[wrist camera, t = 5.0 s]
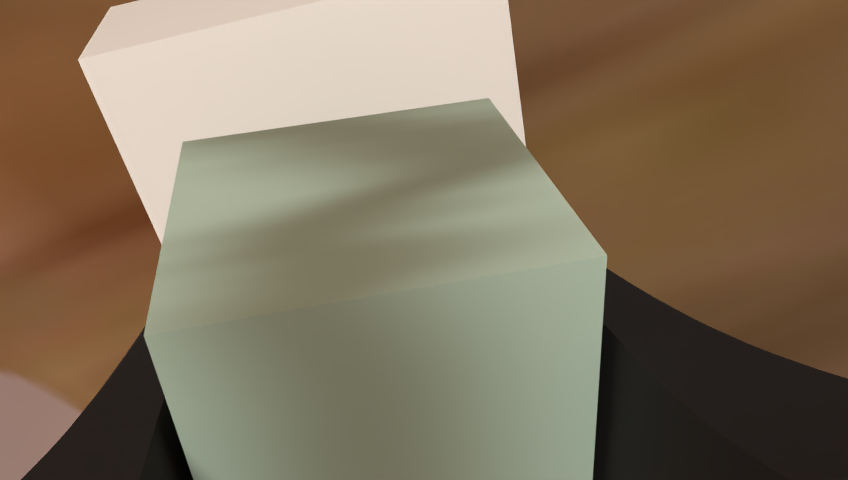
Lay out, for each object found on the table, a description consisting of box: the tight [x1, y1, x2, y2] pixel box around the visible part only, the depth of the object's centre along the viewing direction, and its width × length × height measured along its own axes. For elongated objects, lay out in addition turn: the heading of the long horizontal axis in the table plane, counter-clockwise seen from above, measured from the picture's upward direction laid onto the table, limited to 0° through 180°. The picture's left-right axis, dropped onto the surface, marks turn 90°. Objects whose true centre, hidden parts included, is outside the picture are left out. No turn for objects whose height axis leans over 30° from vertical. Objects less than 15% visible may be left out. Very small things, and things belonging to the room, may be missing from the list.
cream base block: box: [78, 0, 526, 244], centre depth 18 cm, size 8×8×4 cm
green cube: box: [144, 98, 607, 480], centre depth 11 cm, size 5×5×5 cm
